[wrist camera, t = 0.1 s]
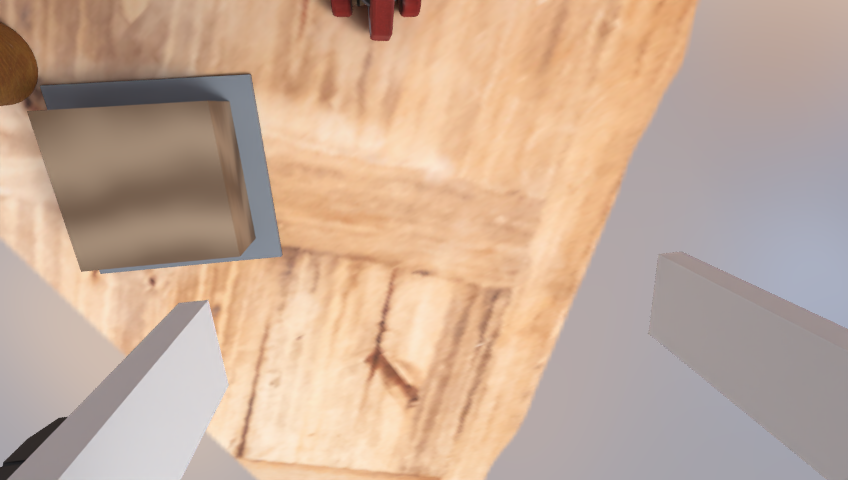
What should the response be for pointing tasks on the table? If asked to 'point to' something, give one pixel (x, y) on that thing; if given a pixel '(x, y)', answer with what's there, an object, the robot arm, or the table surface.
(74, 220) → the pedestal
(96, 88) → the mat
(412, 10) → the toy fire truck
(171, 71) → the table surface
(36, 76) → the disposable coffee cup
